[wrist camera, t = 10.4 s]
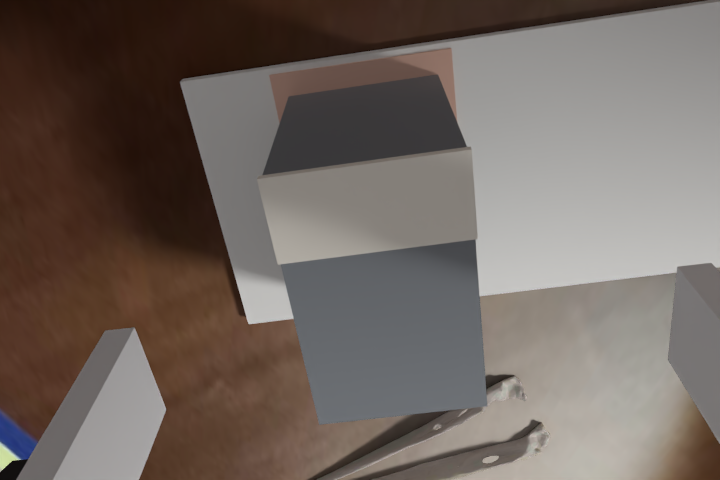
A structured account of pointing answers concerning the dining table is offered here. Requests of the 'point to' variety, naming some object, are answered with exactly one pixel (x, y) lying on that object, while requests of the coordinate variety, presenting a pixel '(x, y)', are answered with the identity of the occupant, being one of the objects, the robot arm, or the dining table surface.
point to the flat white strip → (515, 146)
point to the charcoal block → (379, 249)
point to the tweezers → (439, 473)
